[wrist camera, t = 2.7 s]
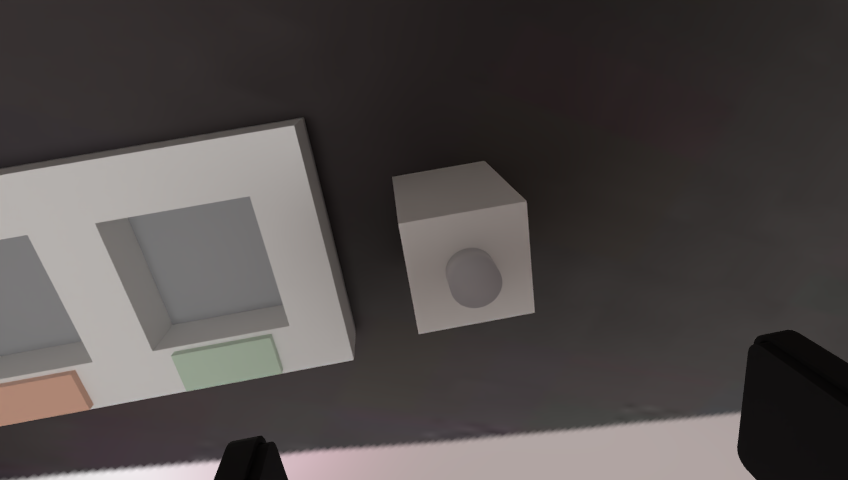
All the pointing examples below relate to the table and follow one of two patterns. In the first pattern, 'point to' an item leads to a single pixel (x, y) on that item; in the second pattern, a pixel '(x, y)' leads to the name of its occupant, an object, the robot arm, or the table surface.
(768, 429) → the robot arm
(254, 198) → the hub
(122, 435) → the table surface
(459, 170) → the plug
